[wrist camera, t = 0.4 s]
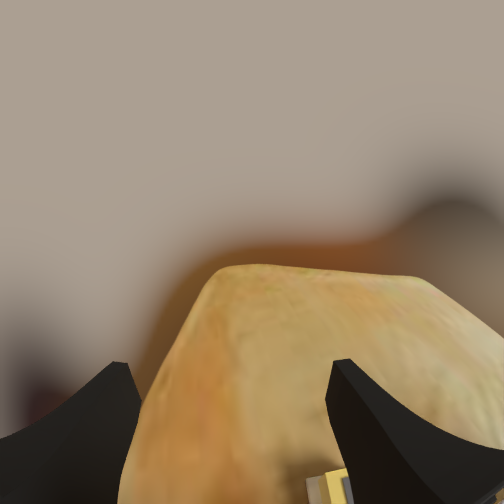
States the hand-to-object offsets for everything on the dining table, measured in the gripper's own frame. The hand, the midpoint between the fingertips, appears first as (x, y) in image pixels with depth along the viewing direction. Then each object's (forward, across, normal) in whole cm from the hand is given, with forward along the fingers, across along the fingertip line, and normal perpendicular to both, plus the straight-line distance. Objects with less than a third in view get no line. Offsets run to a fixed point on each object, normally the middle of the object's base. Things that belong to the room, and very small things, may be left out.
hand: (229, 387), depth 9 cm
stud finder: (+1, -9, +19) cm, 21 cm away
